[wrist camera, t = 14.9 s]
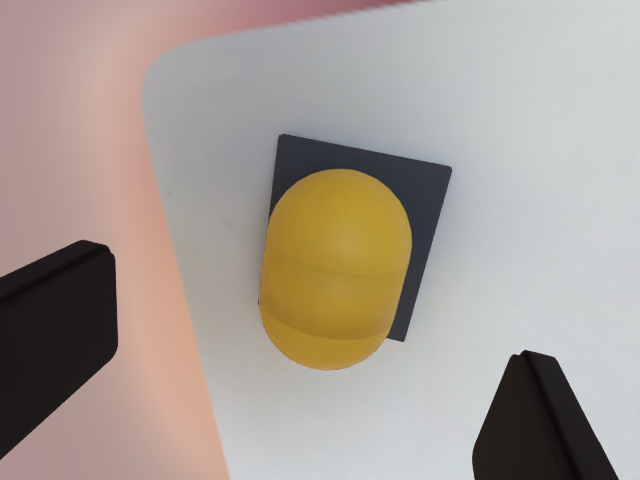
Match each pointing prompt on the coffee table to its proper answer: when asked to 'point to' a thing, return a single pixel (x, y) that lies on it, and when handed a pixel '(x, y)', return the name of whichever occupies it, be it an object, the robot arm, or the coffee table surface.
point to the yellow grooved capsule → (333, 268)
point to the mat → (395, 173)
